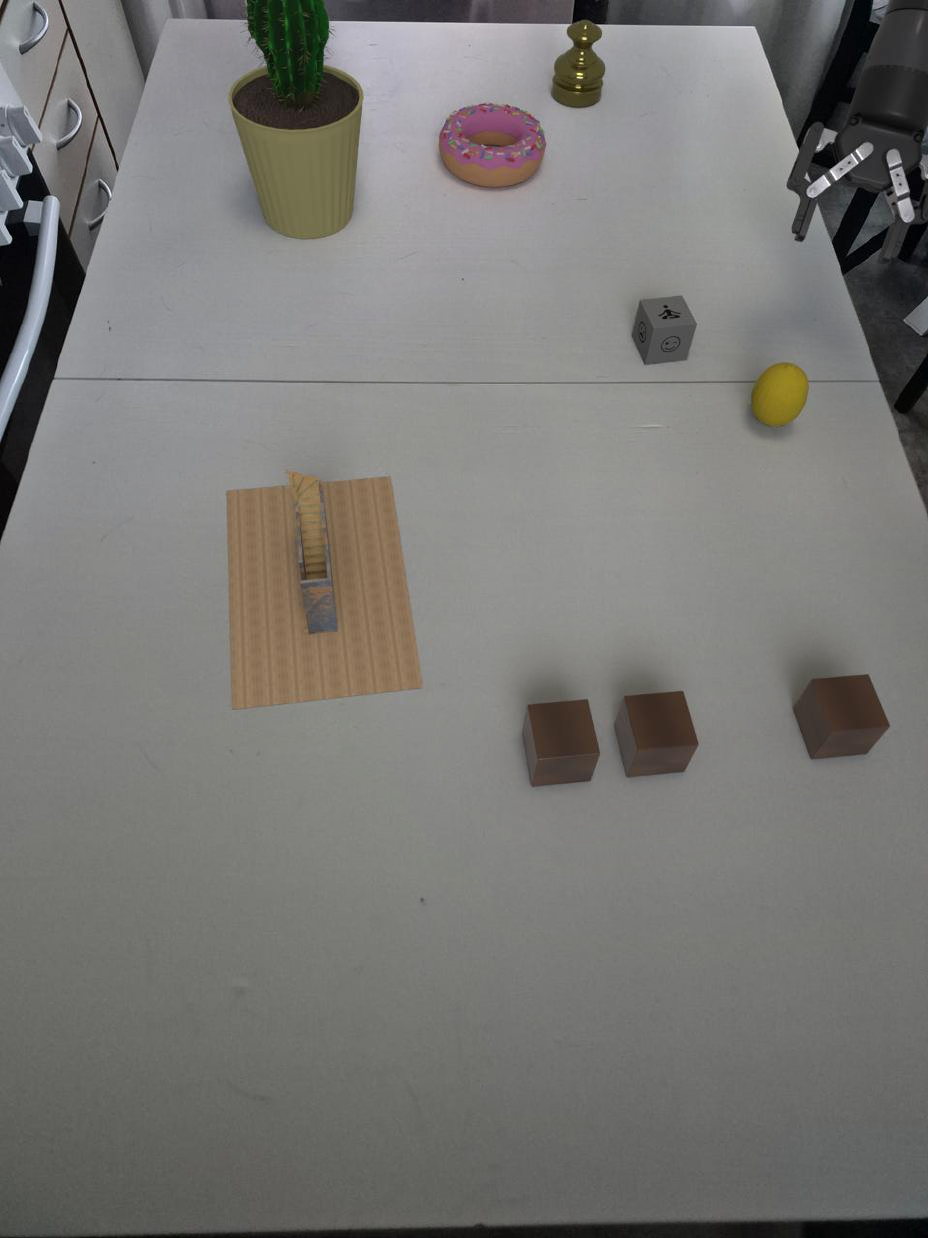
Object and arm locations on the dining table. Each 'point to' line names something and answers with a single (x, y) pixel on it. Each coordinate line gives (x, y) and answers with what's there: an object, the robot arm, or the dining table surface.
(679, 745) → the walnut block
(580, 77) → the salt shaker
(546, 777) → the walnut block
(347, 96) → the potted cactus
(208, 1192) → the dining table surface
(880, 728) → the walnut block
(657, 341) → the dice cube
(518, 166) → the donut
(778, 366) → the lemon
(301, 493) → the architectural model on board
